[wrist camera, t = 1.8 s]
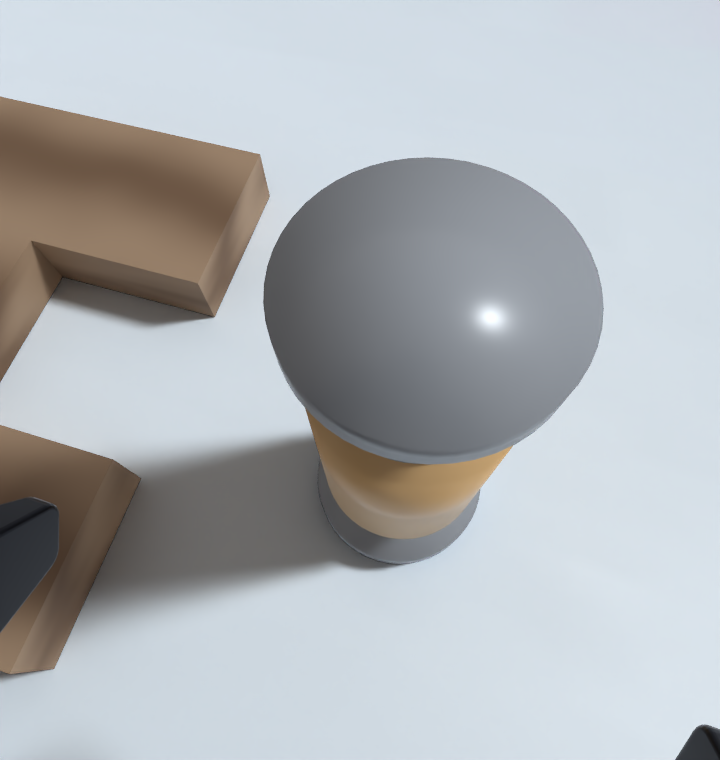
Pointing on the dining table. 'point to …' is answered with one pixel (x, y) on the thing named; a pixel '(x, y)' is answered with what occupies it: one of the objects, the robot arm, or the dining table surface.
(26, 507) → the robot arm
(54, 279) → the notched board
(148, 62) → the dining table surface
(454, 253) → the bobbin
